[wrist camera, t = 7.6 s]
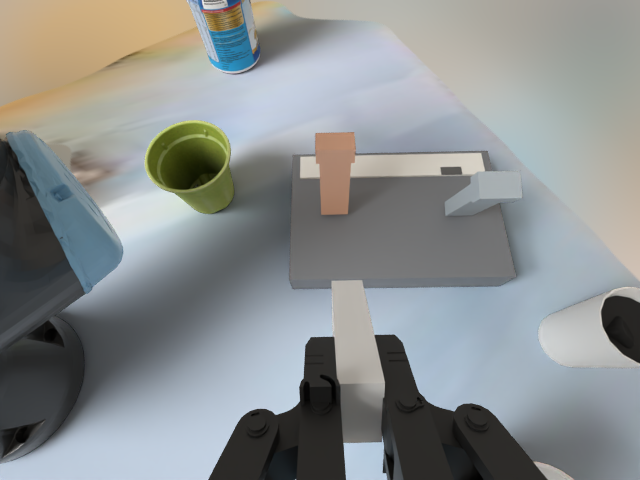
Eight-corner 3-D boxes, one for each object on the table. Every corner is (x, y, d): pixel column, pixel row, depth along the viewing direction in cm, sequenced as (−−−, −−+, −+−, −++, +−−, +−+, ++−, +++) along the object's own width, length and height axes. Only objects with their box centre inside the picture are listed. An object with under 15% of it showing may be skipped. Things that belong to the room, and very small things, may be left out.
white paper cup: (577, 386, 36) (663, 387, 27) (521, 339, 38) (583, 326, 29) (609, 338, 38) (700, 325, 29) (554, 296, 40) (622, 271, 30)
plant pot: (257, 172, 47) (242, 129, 39) (232, 233, 44) (210, 200, 36) (193, 157, 48) (166, 113, 40) (165, 216, 45) (129, 181, 37)
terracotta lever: (318, 217, 39) (315, 150, 31) (318, 201, 40) (315, 133, 32) (350, 216, 39) (355, 149, 31) (349, 200, 40) (354, 132, 32)
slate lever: (442, 219, 39) (479, 198, 30) (441, 198, 39) (477, 171, 30) (475, 219, 39) (522, 198, 30) (473, 198, 39) (520, 170, 30)
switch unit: (292, 288, 41) (288, 278, 37) (295, 172, 47) (292, 152, 43) (499, 286, 40) (518, 275, 36) (475, 169, 46) (489, 148, 42)
